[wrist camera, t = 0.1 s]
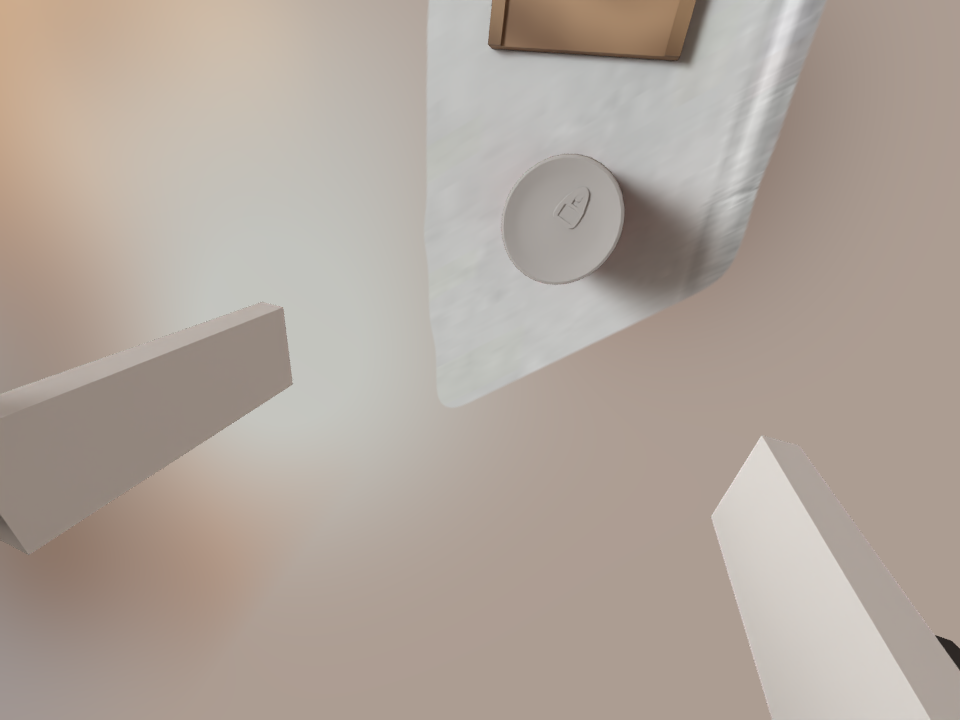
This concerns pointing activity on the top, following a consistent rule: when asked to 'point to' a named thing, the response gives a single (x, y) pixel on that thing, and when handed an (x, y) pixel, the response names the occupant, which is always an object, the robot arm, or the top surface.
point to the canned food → (563, 219)
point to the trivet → (592, 27)
